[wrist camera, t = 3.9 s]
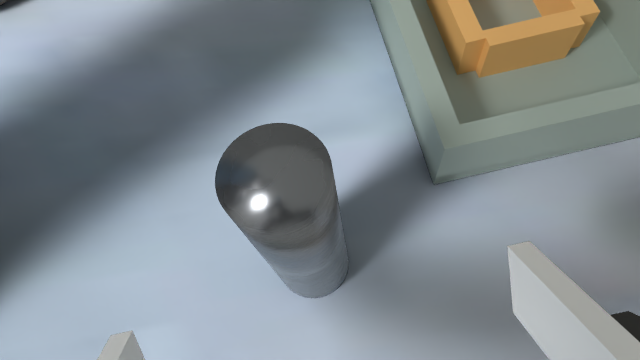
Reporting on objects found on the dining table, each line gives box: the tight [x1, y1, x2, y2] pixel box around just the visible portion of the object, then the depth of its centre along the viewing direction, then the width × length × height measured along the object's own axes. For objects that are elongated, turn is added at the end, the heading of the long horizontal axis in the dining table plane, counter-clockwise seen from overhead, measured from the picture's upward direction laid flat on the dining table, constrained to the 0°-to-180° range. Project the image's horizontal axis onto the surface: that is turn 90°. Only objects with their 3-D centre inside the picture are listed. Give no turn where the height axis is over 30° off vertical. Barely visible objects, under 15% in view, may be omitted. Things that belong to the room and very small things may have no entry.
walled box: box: [370, 0, 640, 185], centre depth 30 cm, size 15×20×4 cm
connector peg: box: [215, 123, 349, 298], centre depth 21 cm, size 4×4×12 cm
